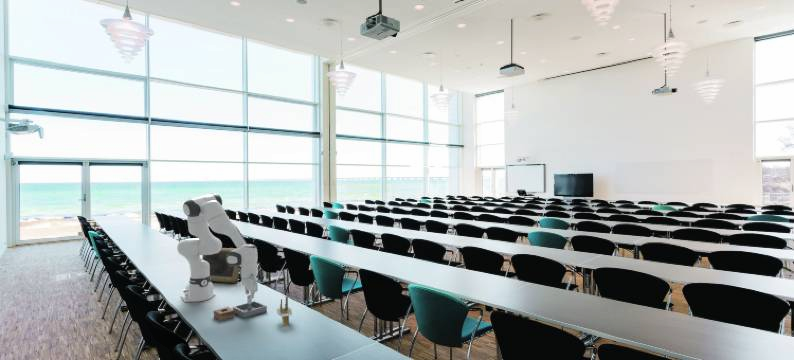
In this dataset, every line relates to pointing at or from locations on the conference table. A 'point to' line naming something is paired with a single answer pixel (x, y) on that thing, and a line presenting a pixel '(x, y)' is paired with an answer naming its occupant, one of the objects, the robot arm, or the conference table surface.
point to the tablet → (222, 267)
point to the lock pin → (249, 303)
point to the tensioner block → (224, 313)
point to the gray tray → (256, 310)
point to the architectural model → (284, 313)
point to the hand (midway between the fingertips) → (249, 296)
